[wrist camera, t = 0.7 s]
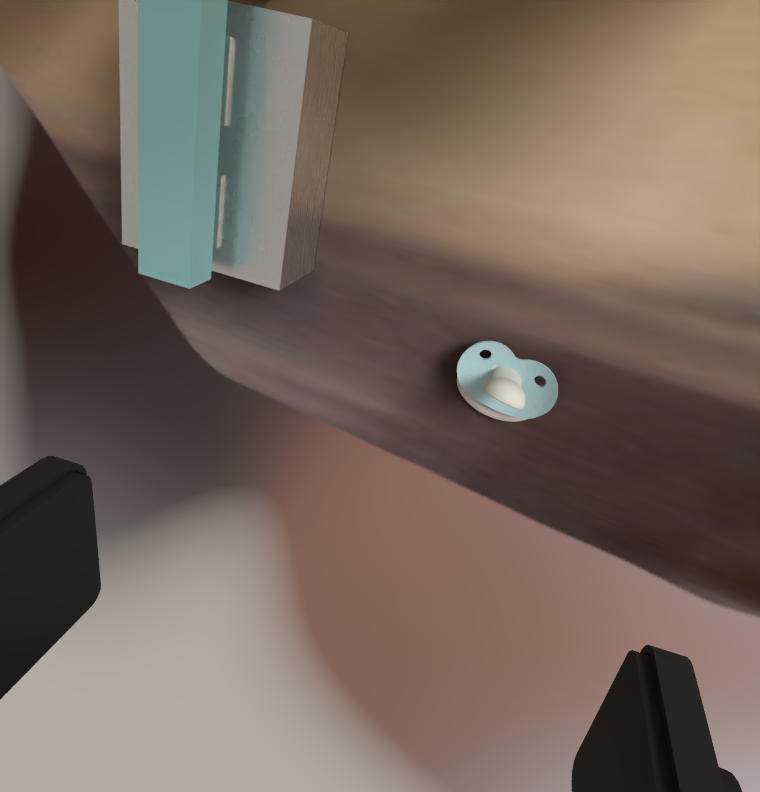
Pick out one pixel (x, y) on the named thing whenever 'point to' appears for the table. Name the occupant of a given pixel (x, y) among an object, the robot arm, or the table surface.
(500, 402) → the pacifier
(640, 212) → the table surface
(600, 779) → the robot arm
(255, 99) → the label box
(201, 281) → the swing bar
